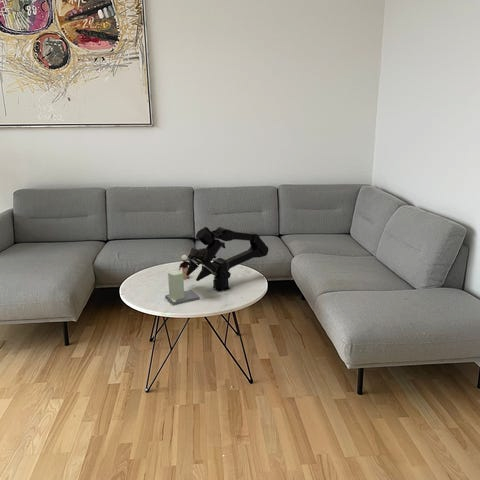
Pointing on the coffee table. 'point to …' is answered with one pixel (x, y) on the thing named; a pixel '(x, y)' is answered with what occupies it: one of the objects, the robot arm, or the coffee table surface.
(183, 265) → the grandmother figurine
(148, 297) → the coffee table surface
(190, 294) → the board
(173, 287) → the sage block
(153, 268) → the coffee table surface
